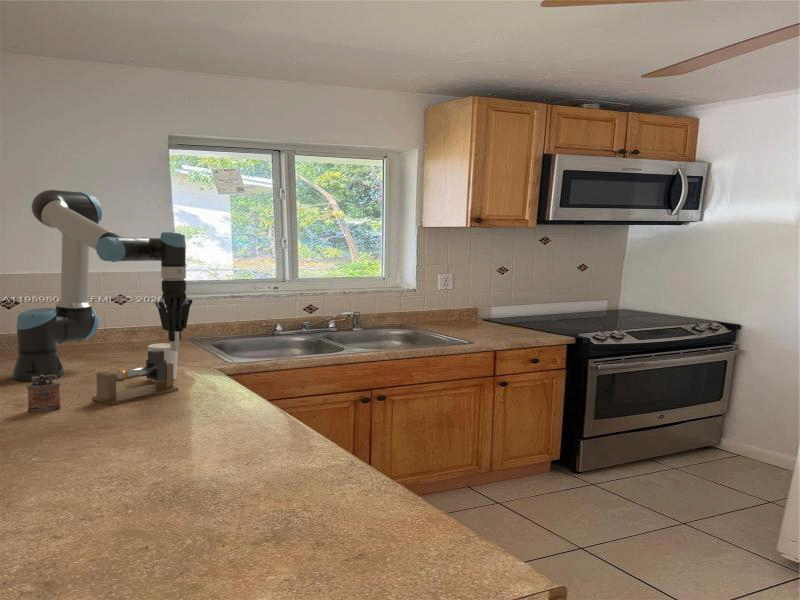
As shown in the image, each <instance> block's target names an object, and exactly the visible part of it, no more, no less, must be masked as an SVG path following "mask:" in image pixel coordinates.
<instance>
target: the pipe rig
mask: <svg viewBox="0 0 800 600" xmlns="http://www.w3.org/2000/svg"><path fill="white" fill-rule="evenodd" d="M95 374H96V395H94V396H92V397H91V400H92V401H95V402H98V403H102V404H105V405H109V406H116V405H122V404H126V403H128V402H134V401H138V400H142V399H145V398H146V399H147V398H151V397H155V396H160V395H165V394H168V393H173V392H177V391H179V386H178V387H177V386H174V380H173V364H172V363H167V362H166V379H164V380H159V381H157V380H155V381H154V382H155V383H153V384H148V385H141V386H137V387H134V388H128V389H123V390H118V391H117V382H118V383H122V382H126V381H128V380H134V379H138V378H145V377H146V376H149V375H155V374H156V365H152V366H146V365H145V366H142V367H141V366H140V367H137V368H131V369H125V370H124V369H121V370H117V371H114V372H109V371H99V372H96V373H95Z"/></svg>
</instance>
